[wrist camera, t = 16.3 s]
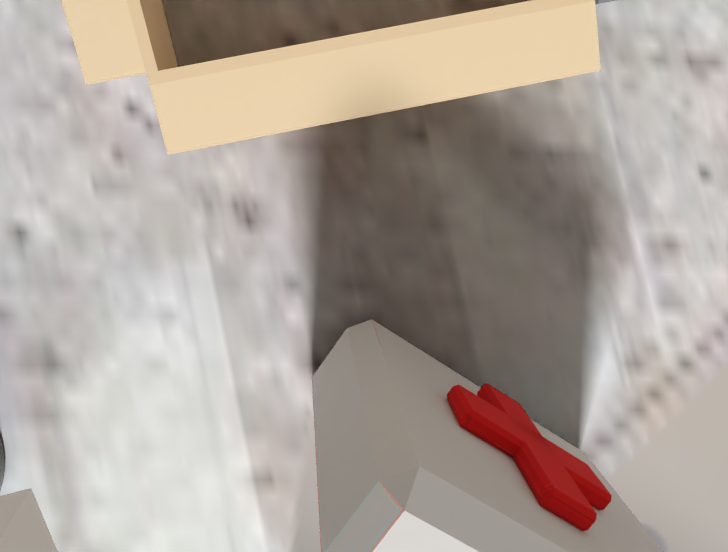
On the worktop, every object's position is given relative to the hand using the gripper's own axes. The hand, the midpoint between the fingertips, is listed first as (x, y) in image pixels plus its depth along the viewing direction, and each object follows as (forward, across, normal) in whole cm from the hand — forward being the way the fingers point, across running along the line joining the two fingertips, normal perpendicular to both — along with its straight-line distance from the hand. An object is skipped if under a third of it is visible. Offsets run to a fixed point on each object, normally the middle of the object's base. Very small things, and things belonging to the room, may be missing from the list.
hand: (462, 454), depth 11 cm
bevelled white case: (+32, +6, -18) cm, 38 cm away
